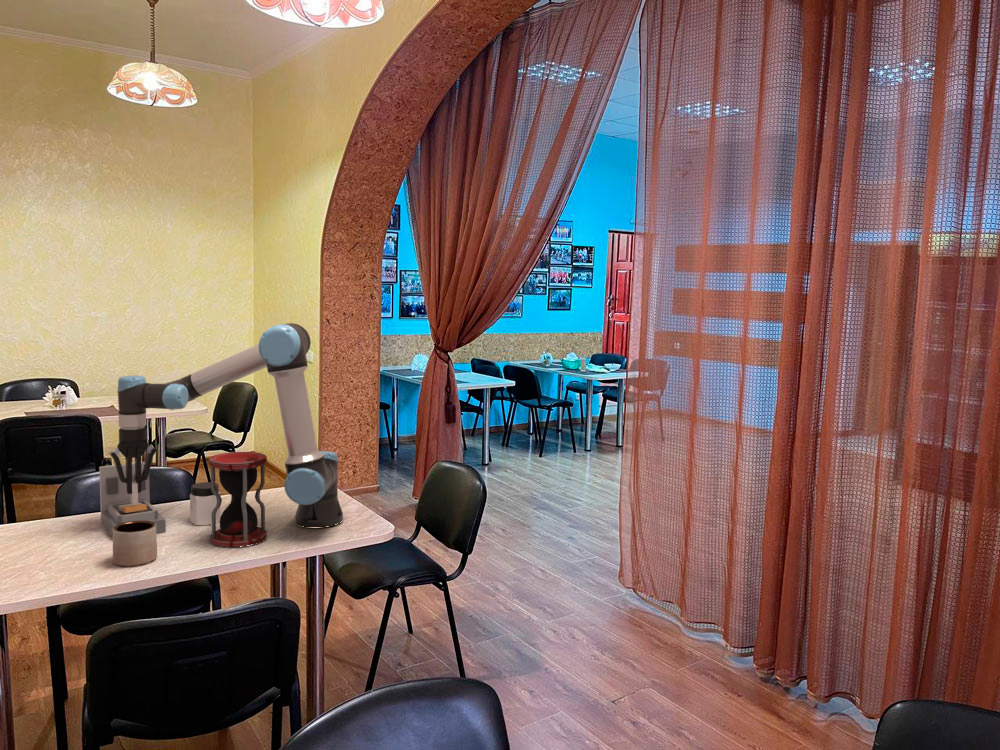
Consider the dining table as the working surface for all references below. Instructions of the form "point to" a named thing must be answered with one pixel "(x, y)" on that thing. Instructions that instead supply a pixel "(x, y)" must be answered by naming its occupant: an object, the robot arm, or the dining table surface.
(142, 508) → the rocker switch
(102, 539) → the dining table surface
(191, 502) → the jar
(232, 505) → the hourglass
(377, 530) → the dining table surface
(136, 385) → the robot arm
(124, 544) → the planter
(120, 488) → the grey fixture stand
